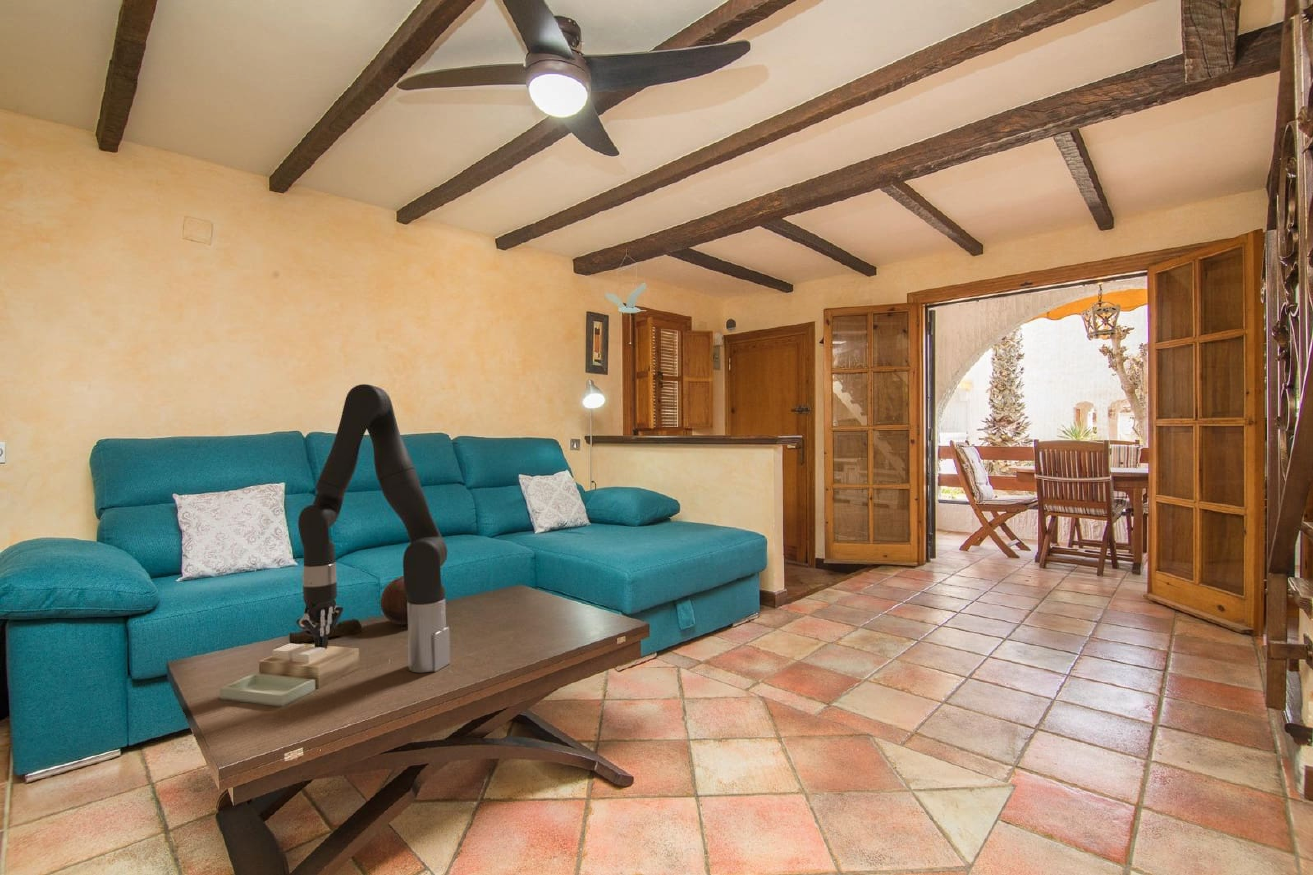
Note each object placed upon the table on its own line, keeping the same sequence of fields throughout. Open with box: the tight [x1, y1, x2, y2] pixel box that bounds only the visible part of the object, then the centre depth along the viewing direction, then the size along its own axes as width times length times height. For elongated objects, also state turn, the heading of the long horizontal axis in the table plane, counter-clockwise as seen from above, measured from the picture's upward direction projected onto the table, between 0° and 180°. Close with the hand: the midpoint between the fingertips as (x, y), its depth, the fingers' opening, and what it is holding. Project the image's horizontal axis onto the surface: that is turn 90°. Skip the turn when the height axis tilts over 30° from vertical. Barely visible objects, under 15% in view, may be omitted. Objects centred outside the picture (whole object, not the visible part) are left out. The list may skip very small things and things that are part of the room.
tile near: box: [292, 646, 326, 663], centre depth 150 cm, size 5×5×2 cm
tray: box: [219, 672, 316, 708], centre depth 141 cm, size 18×9×2 cm, turn 74°
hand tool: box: [288, 618, 362, 644], centre depth 180 cm, size 19×4×5 cm, turn 125°
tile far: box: [272, 642, 305, 660], centre depth 153 cm, size 5×5×2 cm
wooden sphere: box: [380, 575, 408, 625], centre depth 194 cm, size 15×15×15 cm
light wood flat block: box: [258, 643, 360, 689], centre depth 153 cm, size 18×13×5 cm
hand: (321, 649), depth 154 cm, fingers closed
